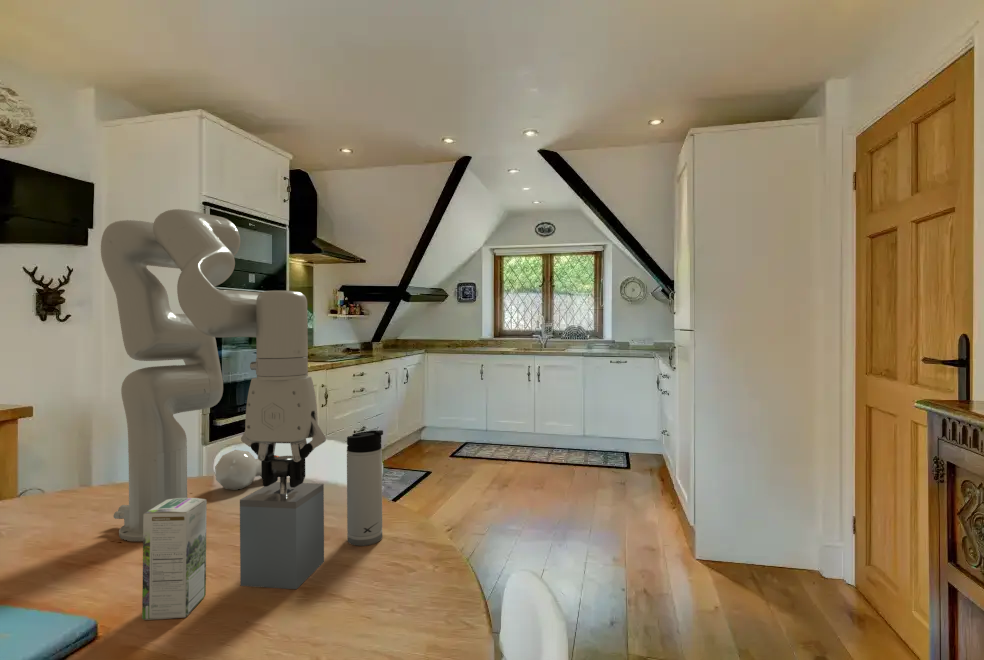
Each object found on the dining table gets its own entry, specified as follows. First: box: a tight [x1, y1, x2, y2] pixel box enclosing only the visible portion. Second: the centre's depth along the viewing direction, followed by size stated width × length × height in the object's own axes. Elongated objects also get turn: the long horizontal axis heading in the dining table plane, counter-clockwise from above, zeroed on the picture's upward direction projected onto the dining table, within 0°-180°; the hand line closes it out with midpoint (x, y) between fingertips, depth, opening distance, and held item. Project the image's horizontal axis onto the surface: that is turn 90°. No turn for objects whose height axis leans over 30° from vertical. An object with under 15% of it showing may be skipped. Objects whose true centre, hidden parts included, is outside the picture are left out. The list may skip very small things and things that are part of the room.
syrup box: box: [141, 497, 208, 621], centre depth 71 cm, size 6×6×14 cm
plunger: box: [270, 455, 293, 494], centre depth 81 cm, size 6×6×15 cm
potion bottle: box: [214, 449, 280, 491], centre depth 127 cm, size 9×10×15 cm
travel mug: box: [346, 429, 384, 547], centre depth 94 cm, size 6×7×20 cm
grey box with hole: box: [239, 481, 325, 590], centre depth 81 cm, size 9×9×13 cm
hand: (283, 483), depth 81 cm, fingers closed on plunger, 3 cm apart
